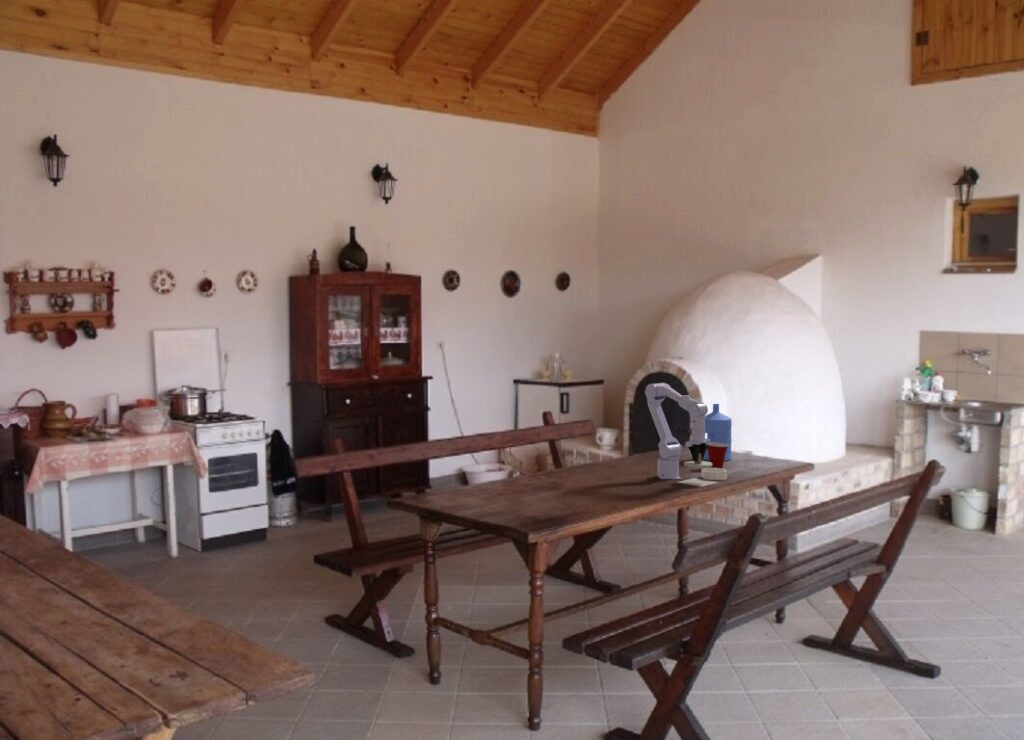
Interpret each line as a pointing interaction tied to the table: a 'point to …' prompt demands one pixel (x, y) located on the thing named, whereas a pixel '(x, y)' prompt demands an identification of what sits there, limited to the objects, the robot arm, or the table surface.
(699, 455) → the lid
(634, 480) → the table surface
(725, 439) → the water jug
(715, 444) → the plastic cup
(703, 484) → the mat
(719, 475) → the white low cylinder
